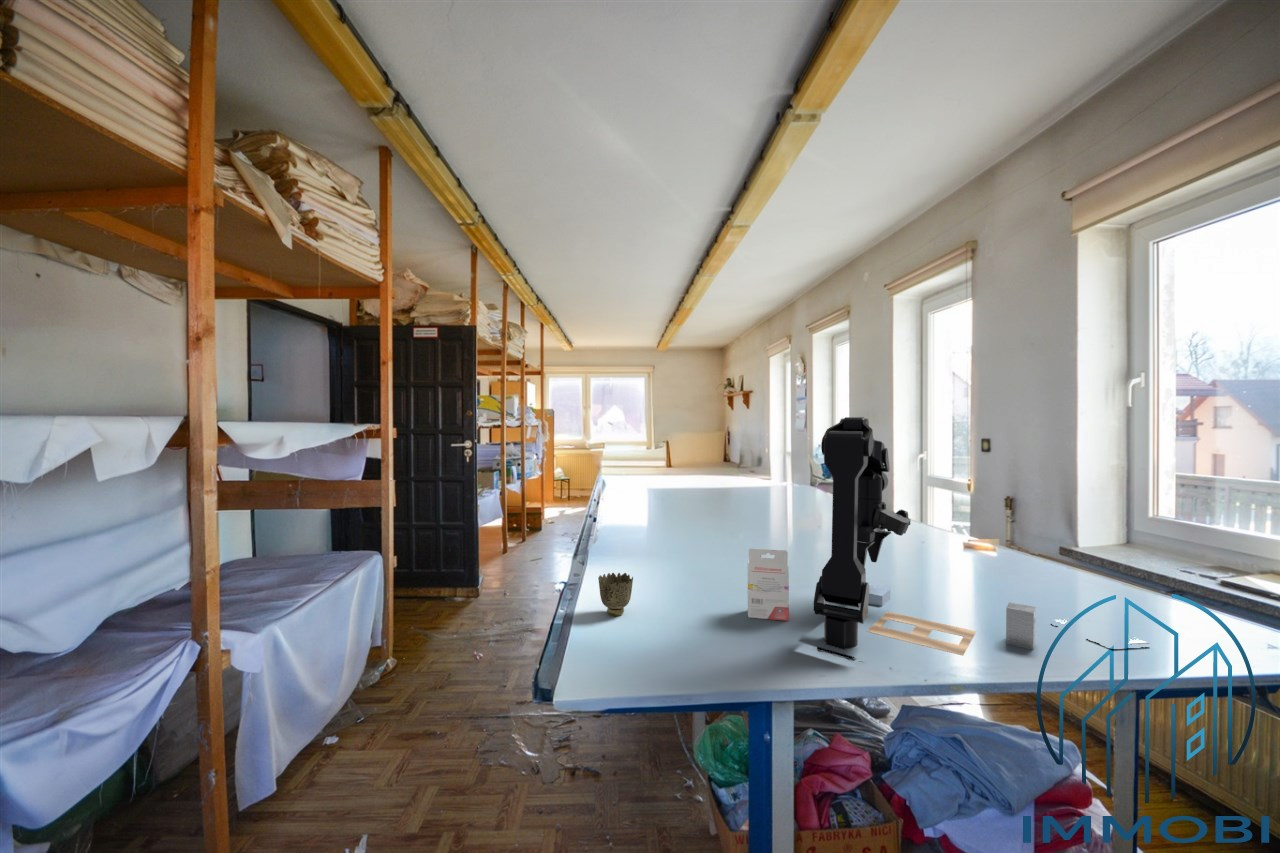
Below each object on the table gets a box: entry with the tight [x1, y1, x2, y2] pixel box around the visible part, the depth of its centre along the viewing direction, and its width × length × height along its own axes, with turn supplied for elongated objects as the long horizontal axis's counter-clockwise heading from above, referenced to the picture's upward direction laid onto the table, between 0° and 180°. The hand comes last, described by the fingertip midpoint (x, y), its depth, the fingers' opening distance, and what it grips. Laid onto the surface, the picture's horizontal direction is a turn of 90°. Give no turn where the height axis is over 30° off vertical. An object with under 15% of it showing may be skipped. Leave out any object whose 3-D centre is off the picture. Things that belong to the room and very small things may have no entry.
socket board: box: [866, 611, 977, 656], centre depth 102 cm, size 14×16×2 cm
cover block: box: [868, 584, 891, 607], centre depth 120 cm, size 6×8×4 cm
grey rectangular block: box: [1005, 602, 1036, 651], centre depth 96 cm, size 4×4×8 cm
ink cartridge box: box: [747, 547, 790, 622], centre depth 114 cm, size 9×5×15 cm, turn 76°
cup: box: [598, 572, 634, 617], centre depth 114 cm, size 8×7×8 cm
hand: (867, 566), depth 121 cm, fingers open, 9 cm apart
